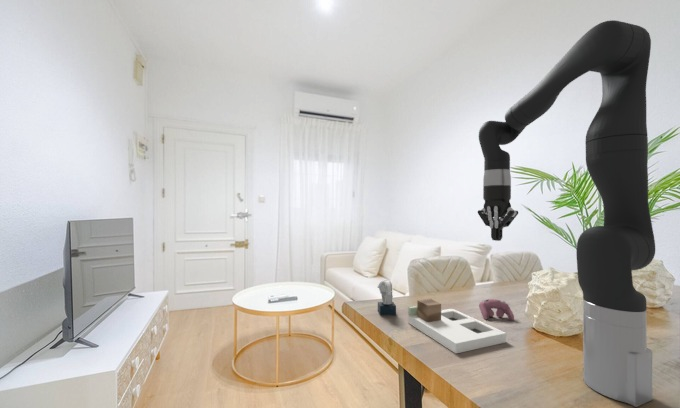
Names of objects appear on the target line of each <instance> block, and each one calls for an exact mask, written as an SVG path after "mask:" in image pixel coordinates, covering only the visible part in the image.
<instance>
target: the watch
mask: <svg viewBox="0 0 680 408" xmlns="http://www.w3.org/2000/svg"><path fill="white" fill-rule="evenodd" d="M377 288H378V289H379V292H380V294H381V299H382V300H381V301H377V312H378V314H379V316H397V305H396V304H395V303H394V301H393V296H394V295H393V283H392V281H391V280H382V281H380V282H379V283H378V284H377Z"/></svg>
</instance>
